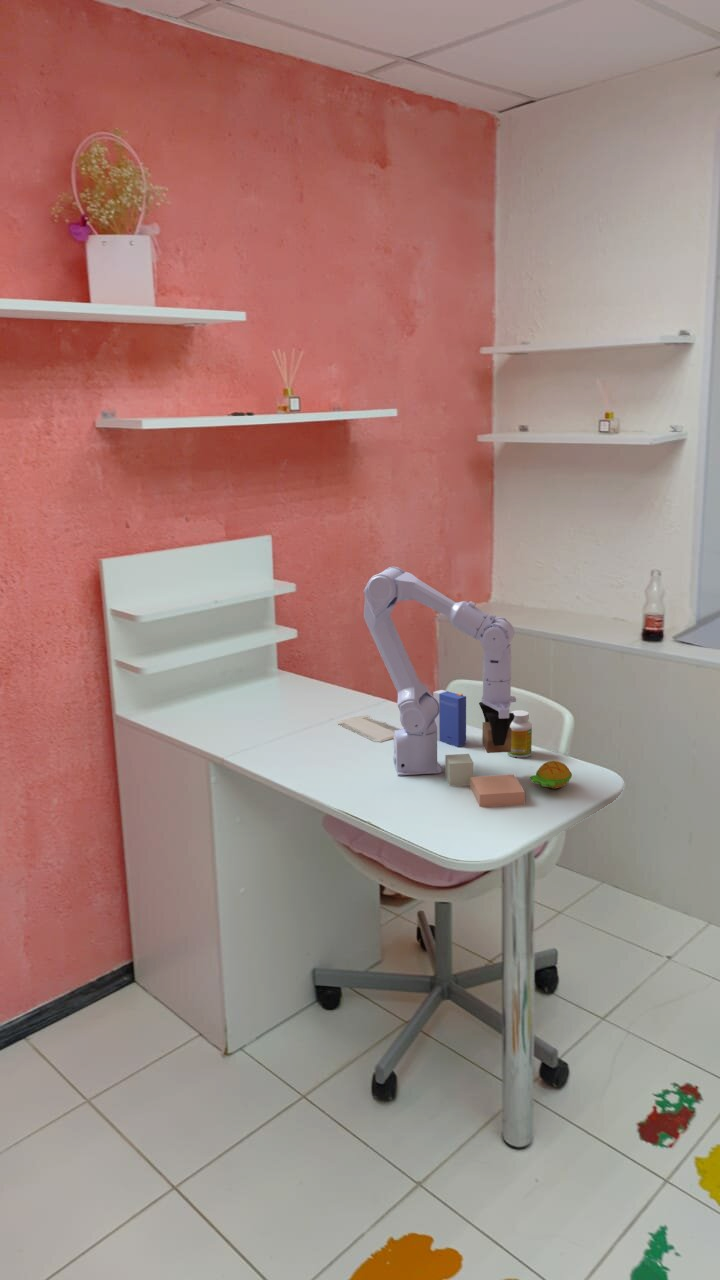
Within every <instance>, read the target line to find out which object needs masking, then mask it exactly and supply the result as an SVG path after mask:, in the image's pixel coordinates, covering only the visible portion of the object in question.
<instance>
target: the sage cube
mask: <svg viewBox="0 0 720 1280" xmlns="http://www.w3.org/2000/svg"><path fill="white" fill-rule="evenodd" d="M444 757H445V758H444V759H445V761H444V762H445V765H444V766H445V767H444V769H445V778H446V781H447V784H448V785H449V787H452V786H453V787H457V786H470V777H474V761H473V758H472V757H471V755H470V753H459V754H445V756H444Z"/></svg>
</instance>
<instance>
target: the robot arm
mask: <svg viewBox="0 0 720 1280" xmlns="http://www.w3.org/2000/svg"><path fill="white" fill-rule="evenodd" d="M363 595H364V607H363V608H364V609H363V619H364V621H365V623H366V624H365V625H367V628H368V630H369V633H370V635H371V637H372V639H373V641H374V644H375V647H376V648H377V650H378V652H379V655H380V658H381V659H382V661H383V664H384V665H385V667H386V670H387V672H388V675H389V677H390V679H391V680H392V683H393V686H394V688H395V689H396V690H395V691H396V692H397V703H396V705H397V707H398V710H399V713H400V714H399V721H400V725H401V726H402V728H400V729H401V730H395V731H394V739H393V758H392V759H393V765H394V768H395V771H396V773H397V776H411V775H412V776H414V775H430V774H431V775H432V774H442V769H441V768H442V767H440V764H439V761H438V741H437V725H436V723H435V718H436V717H437V716H438V714H439V711H440V706H439V703H438V701H437V699H436V698H435V697H434V696H433V695H432V693H431V692H430V691H429V689H428V687H427V686H426V685H425V684H424V683H422V682H421V680H420V679H419V677H418V674H417V672H416V670H415V668H414V666H413V663H412V661H411V659H410V657H409V655H408V652H407V650H406V648H405V646H404V643H403V641H402V639H401V636H400V634H399V632H398V630H397V627H396V626H395V623H394V621H393V619H392V616H391V614H392V612H393V610H394V607H395V606H396V603H397V602H405V601H416V602H417V603H419V604H422V605H424V606H426V607H428V608H430V609H432V610H434V611H436V612H438V613H440V614H442V615H444V616H445V617H447V618H448V621H449V624H450V625H451V626H452V627H454V628H455V629H457V630H459V631H461V632H463V633H465V634H466V635H468V636H470V637H471V638H473V639H475V640H476V641H479V642H480V644H481V646H482V647H483V657H482V697H481V701H479V702H478V704H479V706H480V709H481V712H482V714H483V718H484V722H490V726H491V731H492V739H493V743H494V745H495V746H498V745H504V744H505V741H506V737H507V732H508V729H509V727H510V724H511V723H512V721H513V719H514V717H515V715H514V714H513V713H511V712H510V708H511V705H512V703H516V702H517V698H516V696H514V695H511V693H512V690H511V687H512V685H511V684H512V681H511V680H512V676H511V675H512V654H511V653H512V647H511V645H512V644H510V643H511V642H512V641H513V638H514V635H515V630H514V627H513V625H512V624H511V623H510V621H508V620H507V619H506V618H505V617H497V616H496V615H495V614H494V613H491V614H489V613H487V612H485V611H484V610H482V609H480V608H478V607H476V603H475V602H474V601H472V600H470V601H469V602H468V601H465V600H463V601H459V602H455V601H454V600H453V599H451V598H449V597H447V596H446V595H445V594H443V593H441V592H440V591H438V590H437V589H435V588H433V587H432V586H430V585H428V584H427V583H425V582H424V581H422V580H420V579H419V578H417V577H416V576H415V575H414V574H412V573H411V572H408V571H404V570H403V569H402V568H400V567H397V566H390V567H387V568H386V569H385V570H383V571H381V572H380V573H377V574H374V575H372V577H371V578H370V579H369V580H368V582H367V583H366V585H365V588H364V589H363Z"/></svg>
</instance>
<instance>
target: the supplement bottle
mask: <svg viewBox="0 0 720 1280" xmlns="http://www.w3.org/2000/svg"><path fill="white" fill-rule="evenodd" d="M510 713H513V714H514V715H515V717H514V719H513V721H512V723H511V724H510V728H511V729H512V733H511V752H506V753H507V755H508V756H509V757H512V758H515V757H517V759H523V758H529V757H530V756H531V755H532V740H533V738H532V734H533V725H532V723H531V721H529V719H530V716H529V715H530V713H529V712H528V711H526V710H522V709H521V710H519V709H518V710H512V711H511V712H510Z"/></svg>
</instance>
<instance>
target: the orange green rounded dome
mask: <svg viewBox="0 0 720 1280" xmlns="http://www.w3.org/2000/svg"><path fill="white" fill-rule="evenodd" d="M572 776H573V774H572V772H571V770H570V768H569V767H568V765H566V764H565V763H563V762H561V761H559V760H551V761H546V762H545V763H543V764H542V765H540V767H538V769H537V770H536V773H535V775H530V776H529V780H531V782H532V783H533V784H540V785H541V787H546V788H549V789H560V788H562V787H564V786H566V784H568V783H569V782H570V780H571V779H572Z"/></svg>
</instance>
